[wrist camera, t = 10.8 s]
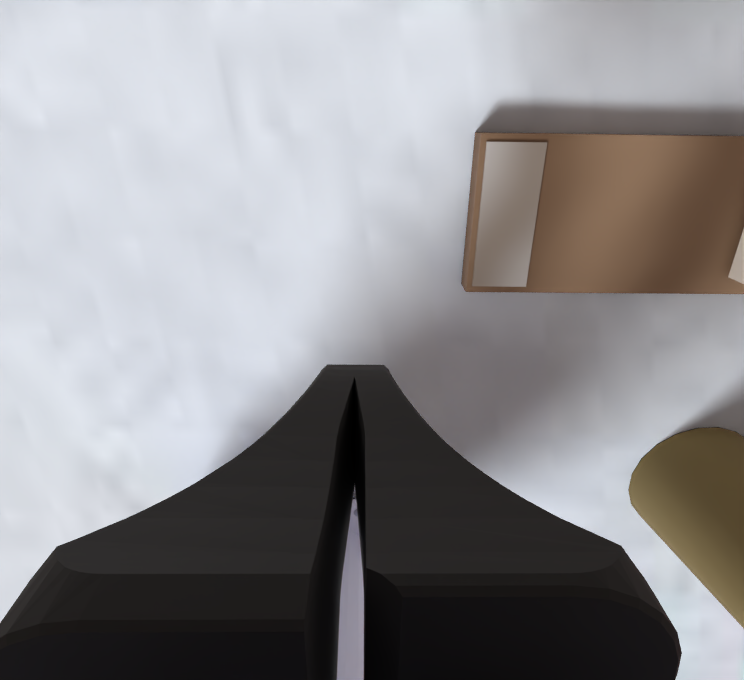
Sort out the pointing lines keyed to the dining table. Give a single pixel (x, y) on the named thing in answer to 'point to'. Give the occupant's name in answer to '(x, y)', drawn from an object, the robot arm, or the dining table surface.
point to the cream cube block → (738, 262)
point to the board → (604, 213)
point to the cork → (698, 506)
